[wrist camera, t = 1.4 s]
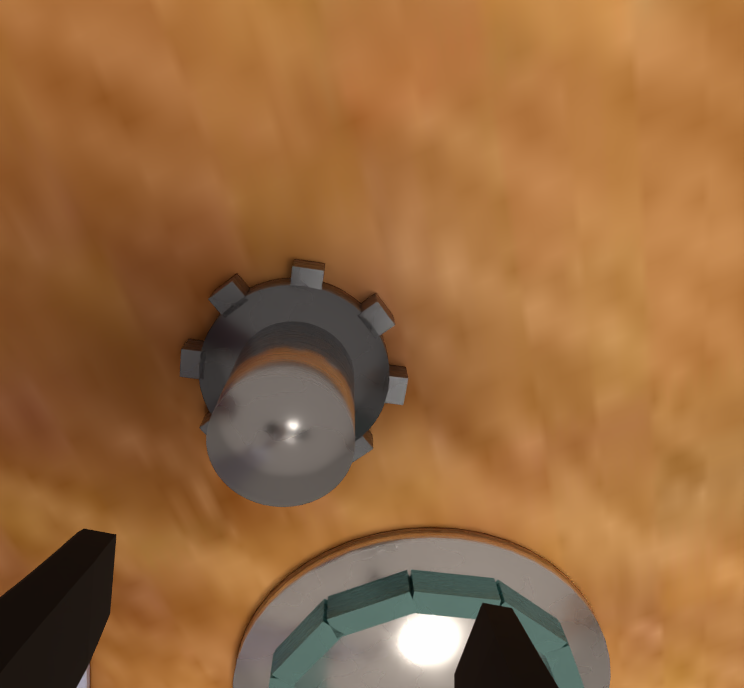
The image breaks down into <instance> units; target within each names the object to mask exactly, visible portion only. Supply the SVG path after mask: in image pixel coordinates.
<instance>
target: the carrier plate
mask: <svg viewBox="0 0 744 688" xmlns="http://www.w3.org/2000/svg"><path fill="white" fill-rule="evenodd" d="M482 603H488V604H493V605H498V606H504V607H509V608H512V609H513V610H514V612H515V614H516V615H517V617H518V619H519V621H520V622H521V624H522V626H523V627H524V629H525V631H526V633H527V634H528V636H529V638H530V640H531V641H532V643H533V645H534V647H535V648H536V650H537V652H538V653H539V655H540V657H541V659H542V660H543V662H544V664H545V665H546V667H547V669H548V670H549V672H550V674H551V675H552V677H553V679H554V680H555V682H556V684H557V685H558V687H559V688H609V685H610V677H611V676H610V658H609V654H608V650H607V645H606V641H605V638H604V636H603V634H602V631H601V629H600V627H599V624H598V622H597V620H596V618H595V616H594V614H593V612H592V610H591V607H590V606H589V604H588V603H587V601H586V600H585V598H584V597H583V595H582V594H581V592H580V591H579V590H578V588H577V587H576V586H575V585H574V584H573V583H572V582H571V581H570V580H569V579H568V578H567V576H566V575H564V574H563V573H562V572H561V571H559V570H558V569H557V568H556V567H555V566H553V565H552V564H551V563H550V562H548V561H547V560H545V559H543V558H542V557H540V556H538V555H537V554H535V553H533V552H532V551H530V550H528V549H526V548H523V547H521V546H519V545H516V544H514V543H512V542H509V541H507V540H504V539H500V538H497V537H493V536H490V535H487V534H483V533H478V532H472V531H466V530H460V529H447V528H416V529H402V530H396V531H390V532H384V533H378V534H374V535H371V536H367V537H364V538H360V539H357V540H353V541H351V542H348V543H346V544H343V545H341V546H338V547H336V548H333V549H331V550H329V551H327V552H325V553H323V554H321V555H319V556H318V557H316V558H314V559H312V560H310V561H309V562H307V563H305V564H304V565H303V566H301V567H300V568H299V569H297V570H296V571H294V572H293V573H292V574H290V575H289V576H287V577H286V578H285V579H284V580H283V581H282V582H281V583H280V584H279V585H278V586H277V587H276V588H275V589H274V590H273V591H272V592H271V593H270V594H269V595H268V596H267V598H266V599H265V600H264V602H263V603H262V604H261V605H260V607H259V608H258V609H257V611H256V612H255V614H254V616H253V618H252V619H251V621H250V623H249V625H248V626H247V629H246V631H245V634H244V637H243V639H242V642H241V644H240V648H239V653H238V658H237V663H236V668H235V673H234V678H233V688H454V673H455V671H456V668H457V666H458V663H459V660H460V658H461V655H462V653H463V650H464V648H465V645H466V643H467V640H468V638H469V635H470V633H471V630H472V627H473V625H474V622H475V620H476V617H477V615H478V612H479V610H480V607H481V605H482Z"/></svg>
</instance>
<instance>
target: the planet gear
mask: <svg viewBox="0 0 744 688" xmlns="http://www.w3.org/2000/svg"><path fill="white" fill-rule="evenodd" d="M324 268H325V263H319V262H312V261H305V260H298V259H295V261H294V263H293V266H292V274H291V278H282V279H276V280H271V281H267V282H264V283H261V284H258V285H256V286H254V287H252V288H249V287H248V285H247V284H246V283H245V282H244V281H243V279H242V278H241V277H240V276H239V275H238V274H236V275H235V276H233V277H232V278H231V279H229V280H228V281H227V282H225V283H224V284H223V285H221V286H220V287H219V288H217V289H216V290H215V291H214V292H213V293H212V295H211V296H210V297H209V299H208V300H209V301H210V302H211V303H212V304H213V305H214V307H215V308H216V309H217V310H218V311H219V312H220V315H219V316H218V318H217V319H216V321H215V322H214V324H213V326H212V327H211V329H210V330H209V332H208V334H207V336H206V339H205V341H203V340H195V339H188V340H187V342H186V343H185V344H184V346H183V347H182V349H181V363H180V377H186V378H194V379H199V381H200V388H201V391H202V395H203V398H204V401H205V403H206V405H207V407H208V410H209V411H210V412H209V413H207V414H206V415H205V417H204V419H203V421H202V423H201V425H200V427H199V428H200V429H201V430H202V431H203V432H204V433H205V434H206V445H207V451H208V455H209V458H210V461H211V463H212V466H213V468H214V469H215V471H216V473H217V474H218V476H219V477H220V478H221V479H222V480H223V482H224V483H225V484H226V485H227V486H229V487H230V488H231V489H232V490H233V491H235V492H236V493H238V494H239V495H241V496H243V497H245V498H246V499H249V500H251V501H254V502H256V503H260V504H263V505H269V506H276V507H290V506H297V505H303V504H306V503H310V502H312V501H315V500H317V499H319V498H321V497H323V496H324V495H326V494H328V493H329V492H330V491H332V490H333V489H334V488H335V487H336V486H337V485H338V484H339V483H340V482H341V481H342V479H343V478H344V477H345V475H346V474H347V472H348V470H349V468H350V466H351V463H352V462H354V461H355V460H357V459H358V458H360V457H361V456H363V455H364V454H366V453H367V452H369V451H370V450H372V449H373V438H372V434H371V433H370V432H369V429H370V427H371V426H372V425H373V424H374V422H375V421H376V419H377V418H378V416H379V414H380V412H381V411H382V408H383V406H384V403H391V404H399V405H403V403H404V398H405V393H406V388H407V382H408V375H407V371H406V367H400V366H392V365H389V363H388V356H387V350H386V345H385V342H384V339H383V336H382V334H383V333H384V332H386V331H387V330H389V329H390V328H391V327H393V326H394V325H395V322H394V317H393V315H392V313H391V312H390V311H389V309H388V308H387V307H386V305H385V304H384V303H383V301H382V300H381V299H380V298H379V296H378V295H377V294H376V293H375V294H374V295H373V296H371V297H370V298H368V299H367V300H366V301H364V302H363V303H361V304H360V303H359V302H358V301H357V300H356V299H355V298H353V297H352V296H350V295H349V294H347V293H346V292H344V291H343V290H341V289H339V288H337V287H335V286H333V285H330V284H327V283H324V282H323V276H324Z"/></svg>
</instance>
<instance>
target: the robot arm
mask: <svg viewBox="0 0 744 688" xmlns="http://www.w3.org/2000/svg"><path fill="white" fill-rule="evenodd" d="M115 545H116V534H110V533H105V532H100V531H94V530H89V529H83V530H81V531H79V532H77V533H76V534H75V535H74V536H73V537H72V538H71V539H70V540H68V541H67V542H66V543H65V544H64V545H63V546H61V547H60V548H59V549H58V550H57V551H56V552H55V553H53V554H52V555H51V556H50V557H49V558H48V559H46V560H45V561H44V562H43V563H42V564H41V565H39V566H38V567H37V568H36V569H35V570H33V571H32V572H31V573H30V574H29V575H27V576H26V577H25V578H24V579H22V580H21V581H20V582H19V583H17V584H16V585H15V586H14V587H12V588H11V589H10V590H9V591H7V592H6V593H5V594H4V595H2V596H1V597H0V688H90V664H89V663H90V660H91V658H92V656H93V653H94V651H95V649H96V646H97V644H98V642H99V639H100V637H101V634H102V632H103V629H104V627H105V625H106V622H107V620H108V617H109V615H110V608H111V595H112V583H113V570H114V557H115ZM454 688H559V687H558V685H557V684H556V682H555V680H554V679H553V677H552V675H551V674H550V672H549V670H548V669H547V667H546V665H545V664H544V662H543V660H542V659H541V657H540V655H539V653H538V652H537V650H536V648H535V647H534V645H533V643H532V641H531V640H530V638H529V636H528V634H527V633H526V631H525V629H524V627H523V626H522V624H521V622H520V621H519V619H518V617H517V615H516V614H515V612H514V610H513V609H512V608H509V607H504V606H498V605H493V604H488V603H482V605H481V607H480V610H479V612H478V615H477V617H476V620H475V622H474V625H473V627H472V630H471V633H470V635H469V638H468V640H467V643H466V645H465V648H464V650H463V653H462V655H461V658H460V660H459V663H458V666H457V668H456V671H455V673H454Z"/></svg>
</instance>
